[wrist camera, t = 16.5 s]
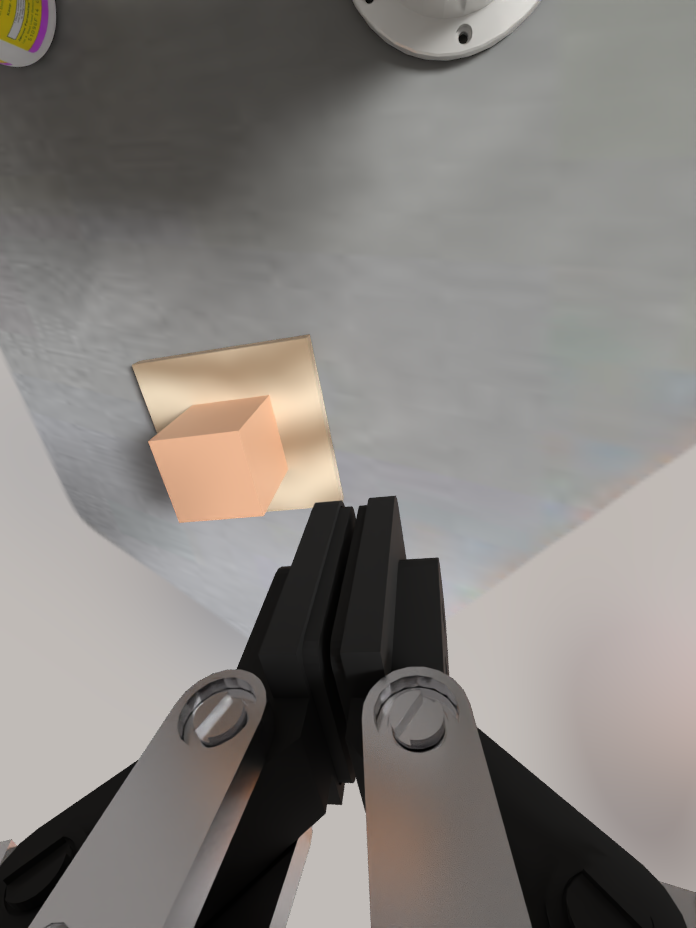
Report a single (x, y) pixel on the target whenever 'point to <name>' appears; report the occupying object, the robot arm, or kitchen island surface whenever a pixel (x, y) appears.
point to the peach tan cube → (221, 459)
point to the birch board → (251, 375)
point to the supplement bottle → (25, 30)
